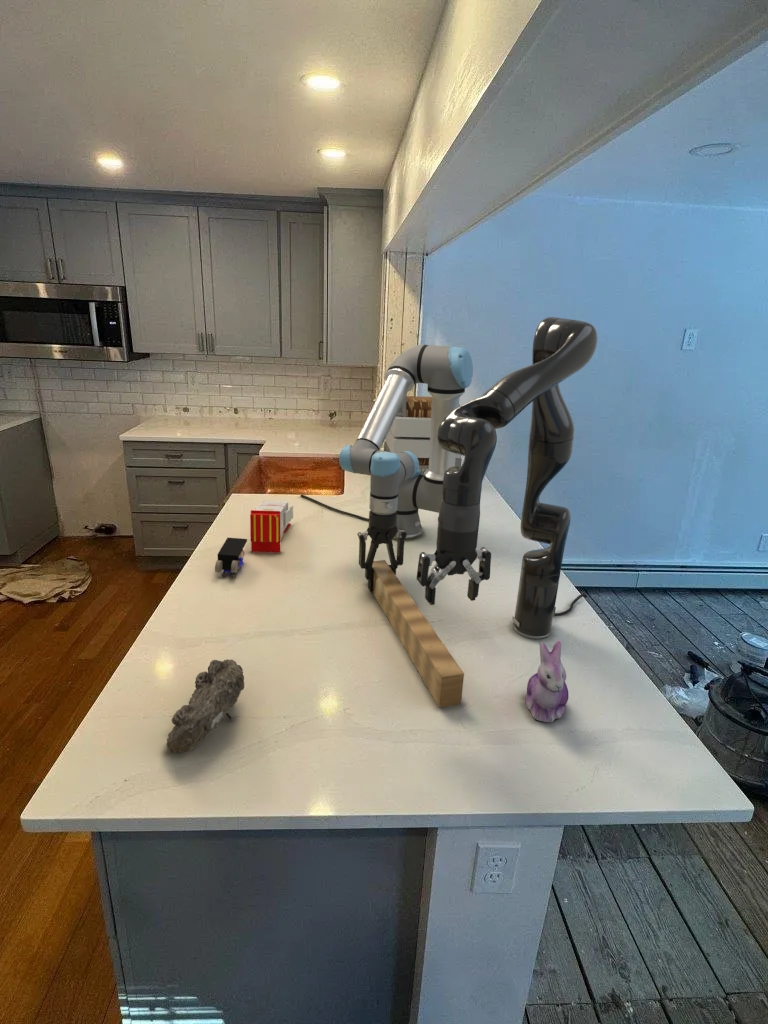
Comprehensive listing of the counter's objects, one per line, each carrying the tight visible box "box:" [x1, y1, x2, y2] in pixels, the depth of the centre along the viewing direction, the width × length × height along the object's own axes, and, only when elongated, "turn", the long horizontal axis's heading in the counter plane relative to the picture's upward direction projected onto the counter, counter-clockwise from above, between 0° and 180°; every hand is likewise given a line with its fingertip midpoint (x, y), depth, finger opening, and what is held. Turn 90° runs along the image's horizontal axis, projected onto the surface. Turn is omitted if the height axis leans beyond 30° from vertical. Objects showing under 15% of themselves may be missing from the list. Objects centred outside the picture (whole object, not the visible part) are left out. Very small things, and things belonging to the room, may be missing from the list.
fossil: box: [166, 658, 245, 754], centre depth 106 cm, size 22×10×15 cm
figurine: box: [525, 640, 570, 723], centre depth 112 cm, size 9×10×15 cm
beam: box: [372, 559, 465, 708], centre depth 137 cm, size 55×5×7 cm, turn 17°
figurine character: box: [214, 537, 248, 578], centre depth 166 cm, size 7×8×15 cm
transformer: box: [383, 393, 463, 467], centre depth 268 cm, size 34×33×41 cm
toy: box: [249, 500, 294, 554], centre depth 191 cm, size 12×13×30 cm
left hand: (379, 588), depth 159 cm, fingers closed on beam, 5 cm apart
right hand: (451, 600), depth 110 cm, fingers open, 8 cm apart
